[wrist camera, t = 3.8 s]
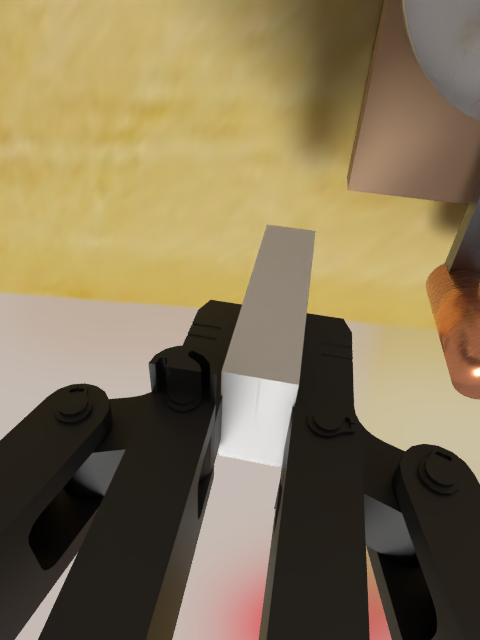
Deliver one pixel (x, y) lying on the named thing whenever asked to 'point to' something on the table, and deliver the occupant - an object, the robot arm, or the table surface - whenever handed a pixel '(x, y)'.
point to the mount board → (410, 128)
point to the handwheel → (476, 227)
